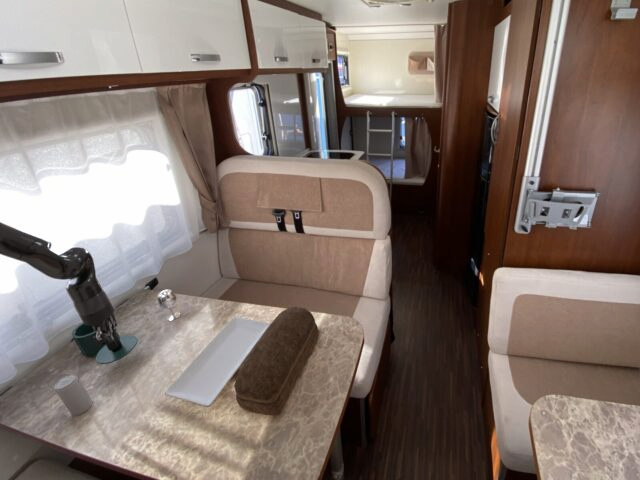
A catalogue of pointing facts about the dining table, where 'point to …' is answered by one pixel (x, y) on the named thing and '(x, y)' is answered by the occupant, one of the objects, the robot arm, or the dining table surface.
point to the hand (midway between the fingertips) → (114, 344)
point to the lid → (117, 349)
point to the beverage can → (73, 394)
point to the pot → (86, 340)
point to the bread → (276, 362)
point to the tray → (218, 362)
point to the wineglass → (168, 302)
